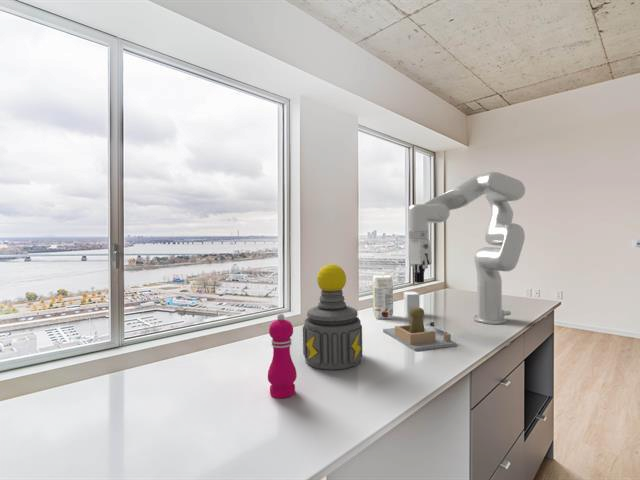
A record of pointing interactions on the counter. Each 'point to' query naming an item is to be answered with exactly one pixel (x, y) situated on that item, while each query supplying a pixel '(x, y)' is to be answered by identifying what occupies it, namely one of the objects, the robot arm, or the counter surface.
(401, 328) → the dock
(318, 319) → the decorative lamp
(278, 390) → the pepper mill
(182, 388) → the counter surface
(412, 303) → the small box
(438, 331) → the bar
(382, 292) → the juice carton
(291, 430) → the counter surface
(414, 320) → the cork
